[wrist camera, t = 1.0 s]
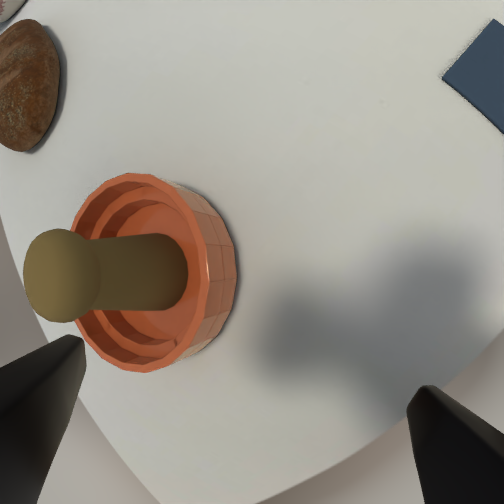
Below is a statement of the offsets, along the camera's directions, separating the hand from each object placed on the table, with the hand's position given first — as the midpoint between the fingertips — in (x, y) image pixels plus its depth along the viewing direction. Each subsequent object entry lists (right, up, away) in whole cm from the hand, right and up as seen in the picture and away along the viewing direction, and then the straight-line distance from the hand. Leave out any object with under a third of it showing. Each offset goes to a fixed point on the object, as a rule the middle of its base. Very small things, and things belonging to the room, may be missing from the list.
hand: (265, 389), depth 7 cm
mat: (+19, +16, +8) cm, 26 cm away
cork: (-8, +2, +17) cm, 19 cm away
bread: (-36, +31, +29) cm, 56 cm away
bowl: (-8, +2, +17) cm, 19 cm away
